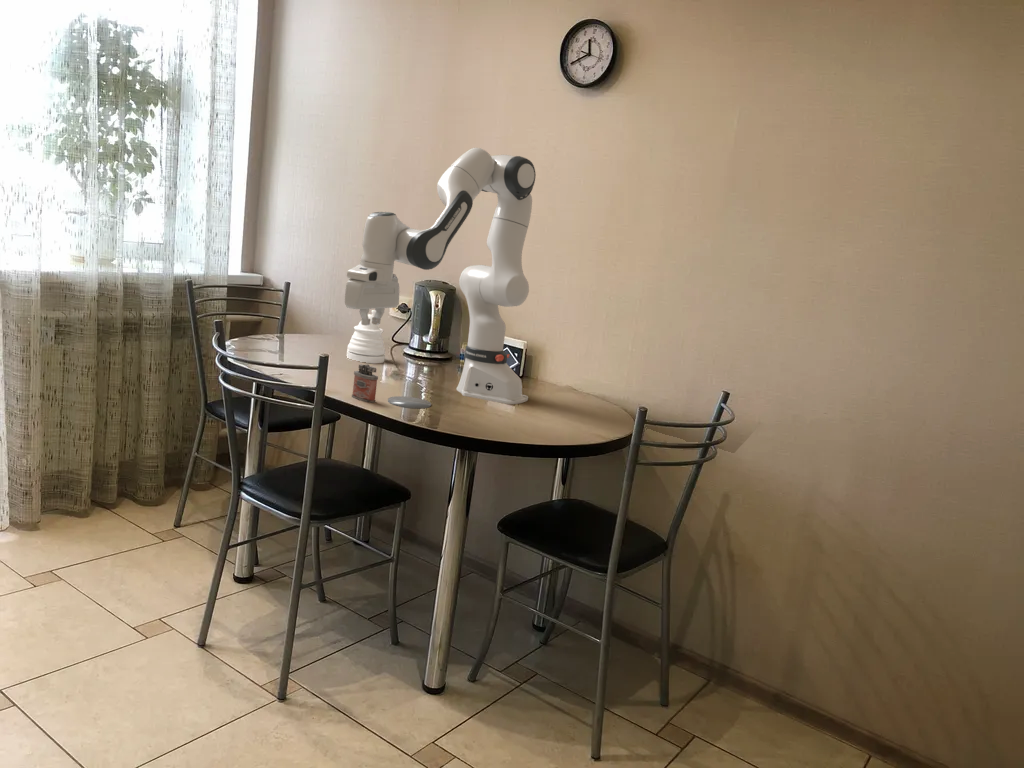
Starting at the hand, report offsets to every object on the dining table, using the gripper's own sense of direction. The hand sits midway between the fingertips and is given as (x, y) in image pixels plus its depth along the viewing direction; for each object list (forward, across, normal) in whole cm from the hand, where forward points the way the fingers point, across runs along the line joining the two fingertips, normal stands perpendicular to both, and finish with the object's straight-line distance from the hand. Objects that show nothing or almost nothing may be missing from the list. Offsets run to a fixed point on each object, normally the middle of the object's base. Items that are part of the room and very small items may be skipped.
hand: (370, 324), depth 214 cm
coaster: (+21, -8, +10) cm, 25 cm away
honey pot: (+21, -47, -34) cm, 62 cm away
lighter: (+21, 0, 0) cm, 21 cm away
